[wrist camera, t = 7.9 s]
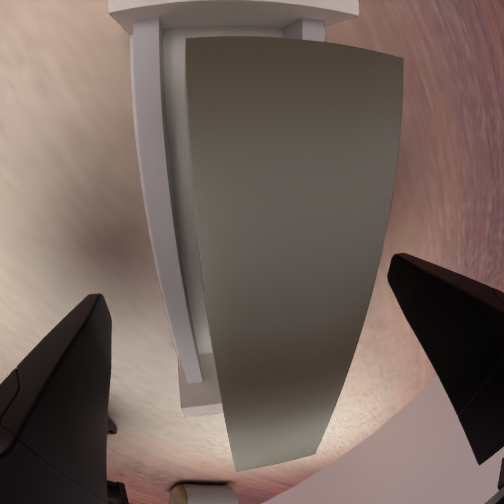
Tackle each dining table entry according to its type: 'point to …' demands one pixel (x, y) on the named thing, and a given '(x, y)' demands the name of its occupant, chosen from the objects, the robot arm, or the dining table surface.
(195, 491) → the ceramic mug
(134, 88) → the cabinet track
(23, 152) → the dining table surface
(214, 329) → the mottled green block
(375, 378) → the dining table surface
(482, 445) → the robot arm
